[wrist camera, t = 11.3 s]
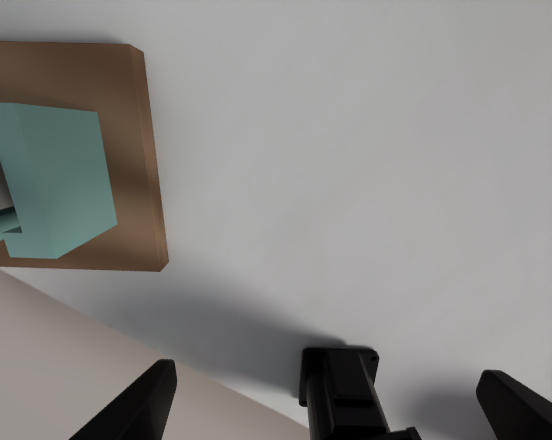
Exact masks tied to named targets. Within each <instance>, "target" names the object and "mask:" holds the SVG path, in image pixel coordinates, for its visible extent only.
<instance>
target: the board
mask: <svg viewBox="0 0 552 440" xmlns="http://www.w3.org/2000/svg"><path fill="white" fill-rule="evenodd" d="M0 103H18V104H27V105H36V106H45V107H55V108H64V109H73V110H82V111H91V112H97V113H98V119H99V124H100V130H101V135H102V141H103V147H104V152H105V158H106V163H107V169H108V174H109V180H110V186H111V191H112V197H113V202H114V208H115V213H116V219H117V225H115V226H114V227H112V228H110V229H108V230H107V231H105V232H103V233H101V234H100V235H98V236H96V237H94V238H92V239H91V240H89V241H87V242H85V243H84V244H82V245H80V246H78V247H76V248H75V249H73V250H71V251H69V252H68V253H66V254H64V255H62V256H61V257H59V258H57V259H48V258H19V257H10V255H9V252H8V249H7V246H6V244H5V241H4V239H3V240H1V241H0V267H29V268H60V269H91V270H122V271H153V272H160V271H161V270H162V269H163V268H164V267H165V265H166V264H167V263H168V262H169V260H168V252H167V244H166V235H165V227H164V219H163V211H162V202H161V194H160V186H159V177H158V169H157V161H156V153H155V144H154V136H153V128H152V119H151V111H150V103H149V95H148V86H147V78H146V70H145V62H144V53H143V52H142V51H140V50H139V49H137V48H135V47H133V46H132V45H130V44H100V43H59V42H17V41H0ZM11 206H14V204H13V200H12V197H11V194H10V191H9V187H8V184H7V181H6V178H5V174H4V171H3V168H2V165H1V161H0V209H4V208H8V207H11Z"/></svg>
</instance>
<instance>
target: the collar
mask: <svg viewBox="0 0 552 440" xmlns="http://www.w3.org/2000/svg"><path fill="white" fill-rule="evenodd" d="M0 161H1V165H2V168H3V171H4V174H5V178H6V181H7V184H8V187H9V191H10V194H11V197H12V200H13V204H14V206H11V207H8V208H4V209H0V241H1V240H3V239H4V241H5V244H6V246H7V249H8V252H9V255H10V257H19V258H48V259H57V258H59V257H61V256H62V255H64V254H66V253H68V252H69V251H71V250H73V249H75V248H76V247H78V246H80V245H82V244H84V243H85V242H87V241H89V240H91V239H92V238H94V237H96V236H98V235H100V234H101V233H103V232H105V231H107V230H108V229H110V228H112V227H114V226H115V225H117V219H116V213H115V208H114V202H113V197H112V191H111V186H110V180H109V174H108V169H107V163H106V158H105V152H104V147H103V141H102V135H101V130H100V124H99V119H98V113H97V112H91V111H82V110H73V109H64V108H55V107H45V106H36V105H27V104H18V103H0Z"/></svg>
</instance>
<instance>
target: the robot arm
mask: <svg viewBox="0 0 552 440" xmlns="http://www.w3.org/2000/svg"><path fill="white" fill-rule="evenodd" d="M306 354H309V355H306ZM372 356H373V357H372ZM378 362H379V356H378V353H377V352H376V351H374V350H353V349H324V348H305V349H304V350H303V351H302V359H301V373H300V386H299V405H300V406H302V407H307V408H308V419H309V429H310V439H311V440H422V439H421V438H420V436H419V434H418V432H417V430H416V428H415V427H409V428H406V430H401V431H394V432H390V429H389V427H388V424H387V421H386V418H385V416H384V413H383V410H382V407H381V405H380V402H379V399H378V396H377V394H376V391H375V388H374V382H375V377H376V372H377V367H378ZM176 387H177V376H176V369H175V362H174V360H172V359H160V360H158V361H157V362H156V363H154V364H153V365H152V366H151V367H150V368H149V369H148V370H146V371H145V372H144V373H143V374H142V375H141V376H140V377H139V378H137V379H136V380H135V381H134V382H133V383H132V384H131V385H130V386H129V387H127V388H126V389H125V390H124V391H123V392H122V393H121V394H119V395H118V396H117V397H116V398H115V399H114V400H113V401H111V402H110V403H109V404H108V405H107V406H106V407H105V408H104V409H103V410H101V411H100V412H99V413H98V414H97V415H96V416H95V417H94V418H92V419H91V420H90V421H89V422H88V423H87V424H86V425H84V426H83V427H82V428H81V429H80V430H79V431H78V432H77V433H75V435H73V436H72V437H71V438H70V439H69V440H161V439H162V436H163V432H164V429H165V425H166V422H167V419H168V415H169V411H170V408H171V405H172V401H173V398H174V394H175V391H176ZM476 395H477V399H478V401H479V403H480V405H481V407H482V409H483V411H484V413H485V415H486V417H487V419H488V421H489V423H490V425H491V427H492V429H493V431H494V433H495V435H496V437H497V439H498V440H552V403H551V402H550V401H548V400H547V399H545V398H544V397H542V396H540V395H539V394H537V393H536V392H534V391H533V390H531V389H529V388H528V387H526V386H525V385H523V384H522V383H520V382H518V381H517V380H515V379H514V378H512V377H511V376H509V375H507V374H506V373H504V372H503V371H500V370H484V371H483V372H482V375H481V377H480V380H479V383H478V386H477V388H476Z"/></svg>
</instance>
